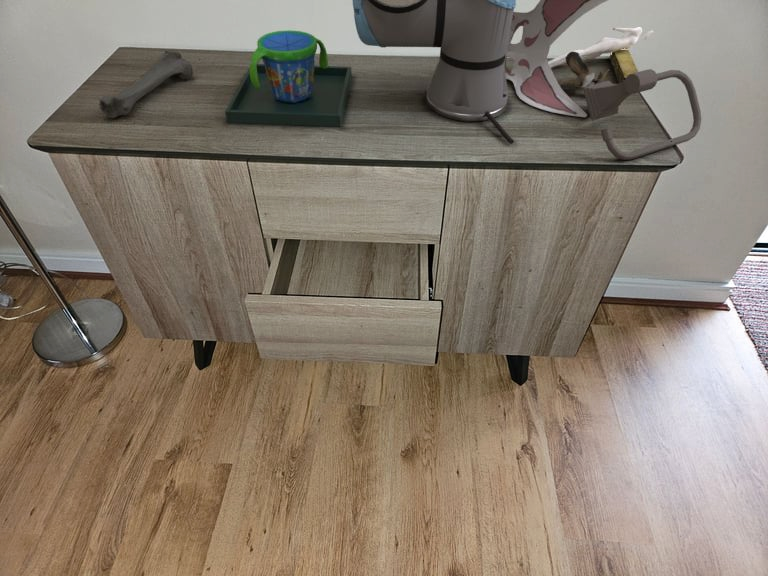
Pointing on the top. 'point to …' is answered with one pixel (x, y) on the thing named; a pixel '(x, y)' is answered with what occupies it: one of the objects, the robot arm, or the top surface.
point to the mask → (543, 53)
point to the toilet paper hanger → (610, 96)
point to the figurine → (605, 45)
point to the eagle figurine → (579, 73)
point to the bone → (146, 83)
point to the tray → (312, 111)
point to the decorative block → (622, 64)
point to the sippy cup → (288, 63)
